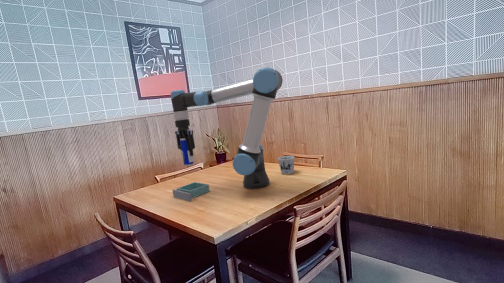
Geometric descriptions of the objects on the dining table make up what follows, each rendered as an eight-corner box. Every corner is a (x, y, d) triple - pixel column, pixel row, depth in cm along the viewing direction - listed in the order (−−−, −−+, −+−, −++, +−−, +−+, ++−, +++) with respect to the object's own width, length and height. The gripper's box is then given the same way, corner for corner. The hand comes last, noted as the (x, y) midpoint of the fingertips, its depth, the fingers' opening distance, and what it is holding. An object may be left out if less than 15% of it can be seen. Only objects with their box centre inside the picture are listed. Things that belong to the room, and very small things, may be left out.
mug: (278, 175, 171) (277, 160, 169) (280, 169, 185) (278, 155, 184) (295, 174, 169) (294, 158, 168) (296, 168, 184) (294, 153, 182)
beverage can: (184, 164, 155) (180, 137, 153) (194, 163, 155) (190, 136, 153) (183, 166, 150) (179, 138, 148) (193, 164, 150) (188, 137, 148)
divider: (192, 200, 143) (191, 193, 143) (190, 201, 142) (189, 194, 142) (175, 196, 154) (174, 189, 153) (173, 196, 153) (172, 189, 153)
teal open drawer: (209, 191, 156) (208, 184, 155) (190, 198, 147) (189, 191, 146) (195, 188, 164) (195, 181, 164) (177, 195, 155) (176, 188, 155)
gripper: (197, 117, 146) (204, 160, 149) (178, 119, 158) (184, 159, 161) (186, 119, 140) (192, 164, 143) (166, 121, 152) (173, 162, 156)
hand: (188, 161), depth 152 cm, fingers closed on beverage can, 5 cm apart
